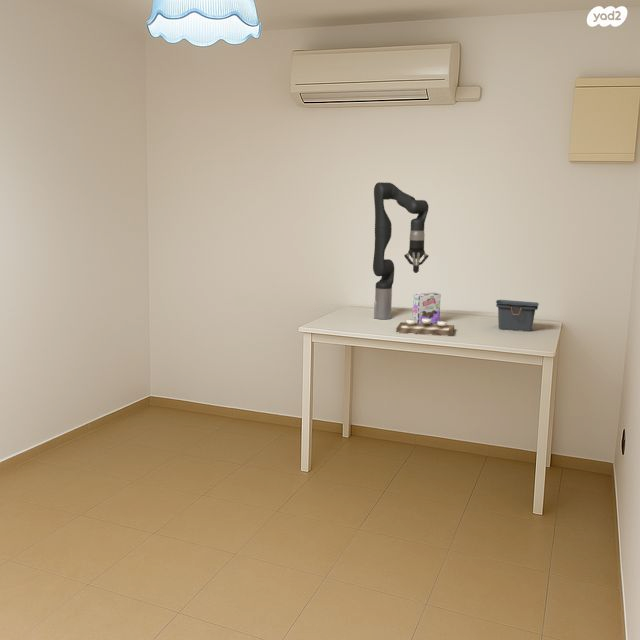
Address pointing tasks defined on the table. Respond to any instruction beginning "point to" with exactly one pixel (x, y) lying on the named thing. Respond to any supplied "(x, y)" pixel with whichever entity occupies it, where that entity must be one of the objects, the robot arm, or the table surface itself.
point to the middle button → (426, 320)
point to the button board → (425, 329)
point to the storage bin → (516, 314)
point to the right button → (442, 323)
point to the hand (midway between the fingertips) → (415, 272)
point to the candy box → (426, 307)
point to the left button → (410, 322)
